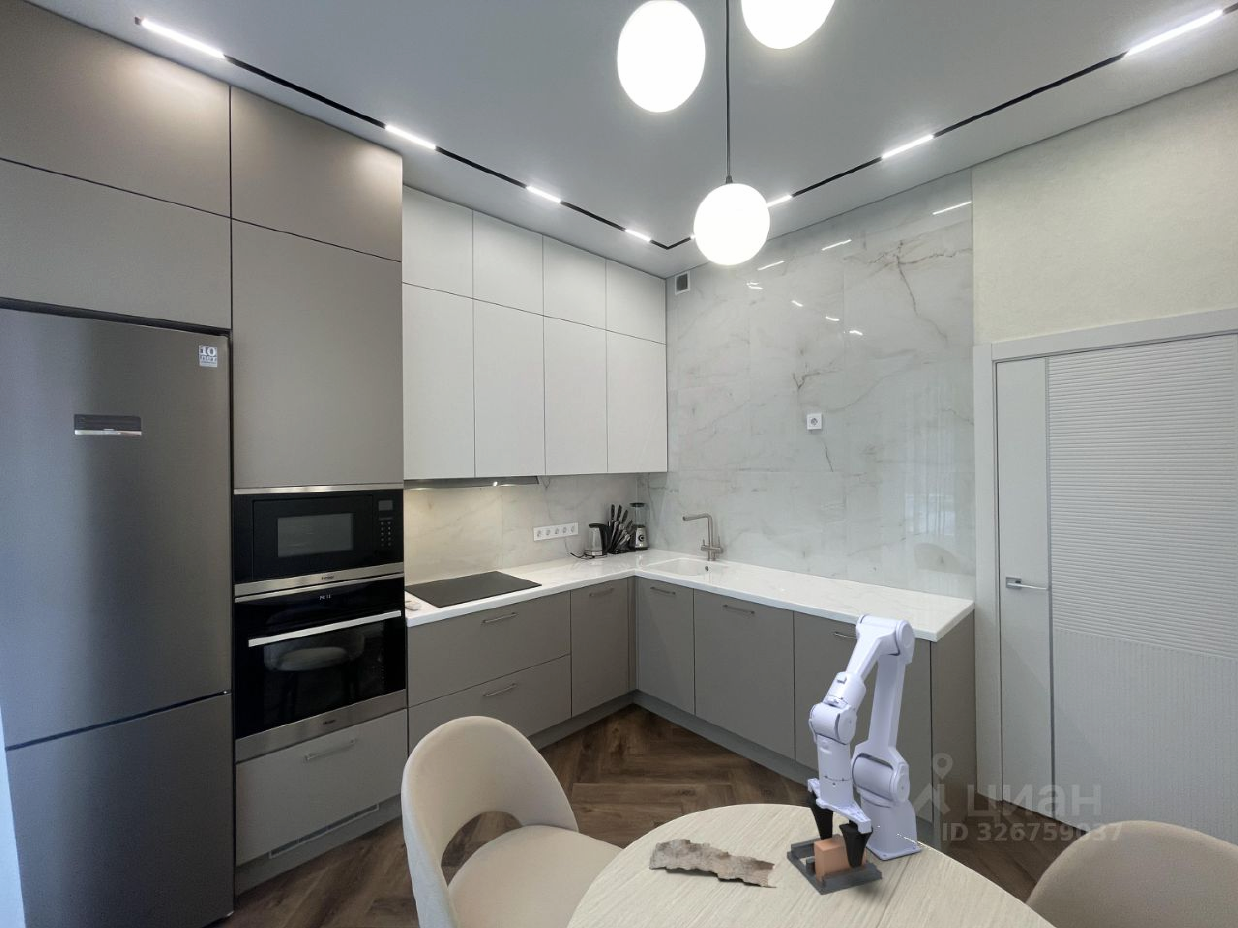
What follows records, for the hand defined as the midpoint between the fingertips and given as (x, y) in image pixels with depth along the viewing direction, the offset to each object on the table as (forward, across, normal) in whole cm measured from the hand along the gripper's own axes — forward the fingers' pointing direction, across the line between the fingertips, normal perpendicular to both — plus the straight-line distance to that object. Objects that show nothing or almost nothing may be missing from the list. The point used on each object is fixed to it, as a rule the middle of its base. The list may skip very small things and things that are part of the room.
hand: (840, 851), depth 91 cm
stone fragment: (+5, -9, -21) cm, 23 cm away
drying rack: (+4, -2, 0) cm, 5 cm away
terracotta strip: (+4, 0, 0) cm, 4 cm away
